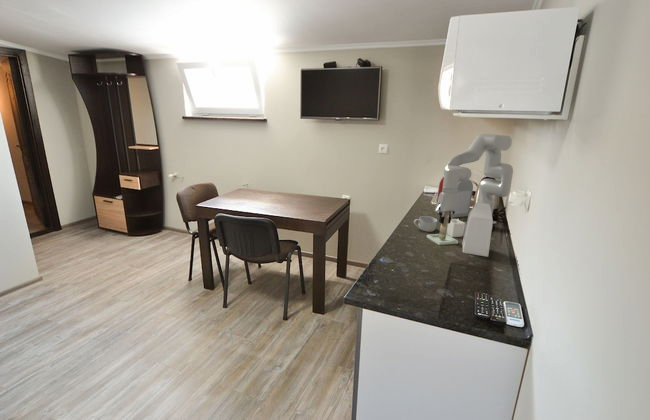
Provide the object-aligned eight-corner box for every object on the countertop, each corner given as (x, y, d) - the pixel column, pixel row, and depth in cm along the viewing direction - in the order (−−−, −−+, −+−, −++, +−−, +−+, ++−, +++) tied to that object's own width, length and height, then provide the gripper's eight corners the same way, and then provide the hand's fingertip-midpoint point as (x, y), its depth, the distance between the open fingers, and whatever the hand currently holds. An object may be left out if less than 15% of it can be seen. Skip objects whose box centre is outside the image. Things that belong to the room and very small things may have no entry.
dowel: (443, 236, 185) (447, 210, 180) (446, 239, 181) (451, 211, 177) (437, 237, 184) (441, 210, 179) (441, 239, 180) (445, 212, 176)
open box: (454, 233, 198) (456, 219, 195) (462, 237, 191) (465, 223, 188) (443, 233, 195) (446, 219, 193) (451, 238, 188) (454, 223, 186)
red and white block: (451, 209, 251) (456, 174, 243) (469, 215, 236) (475, 179, 228) (434, 210, 244) (439, 175, 237) (451, 217, 229) (457, 180, 221)
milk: (462, 252, 169) (471, 204, 162) (461, 244, 179) (469, 199, 172) (488, 256, 165) (497, 207, 158) (485, 248, 175) (494, 202, 168)
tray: (444, 237, 190) (444, 233, 190) (457, 244, 179) (458, 241, 179) (426, 238, 187) (426, 234, 186) (438, 246, 176) (439, 242, 175)
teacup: (433, 228, 204) (435, 216, 202) (437, 234, 194) (439, 221, 192) (411, 227, 205) (412, 215, 203) (413, 232, 195) (415, 220, 193)
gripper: (457, 188, 181) (452, 220, 186) (432, 189, 176) (427, 221, 181) (467, 191, 174) (461, 224, 179) (440, 192, 169) (435, 225, 174)
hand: (444, 222), depth 180 cm, fingers closed on dowel, 3 cm apart
